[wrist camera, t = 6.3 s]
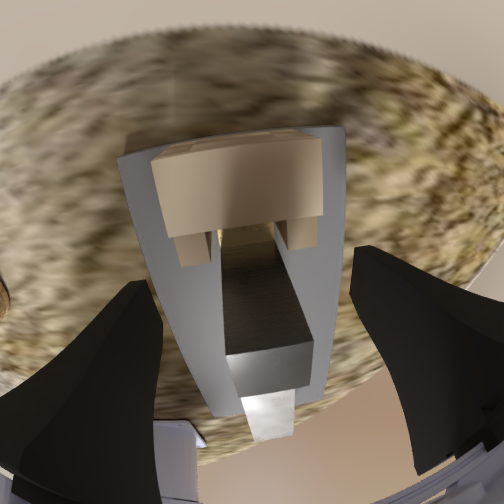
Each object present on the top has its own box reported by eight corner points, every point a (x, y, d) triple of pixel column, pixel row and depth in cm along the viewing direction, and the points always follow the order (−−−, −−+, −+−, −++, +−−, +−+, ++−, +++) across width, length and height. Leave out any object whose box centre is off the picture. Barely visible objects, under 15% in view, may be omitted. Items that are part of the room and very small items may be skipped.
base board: (213, 407, 22) (213, 416, 21) (123, 154, 11) (116, 158, 10) (319, 390, 23) (322, 399, 22) (336, 125, 11) (345, 127, 11)
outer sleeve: (250, 410, 21) (254, 441, 18) (235, 354, 17) (239, 396, 14) (286, 404, 21) (293, 435, 19) (284, 347, 17) (295, 386, 14)
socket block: (188, 231, 12) (179, 276, 9) (170, 145, 10) (150, 161, 7) (296, 215, 13) (322, 254, 9) (291, 128, 10) (321, 138, 7)
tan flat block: (248, 373, 17) (262, 467, 11) (213, 186, 11) (208, 295, 5) (277, 368, 17) (299, 460, 11) (262, 180, 11) (317, 278, 5)
